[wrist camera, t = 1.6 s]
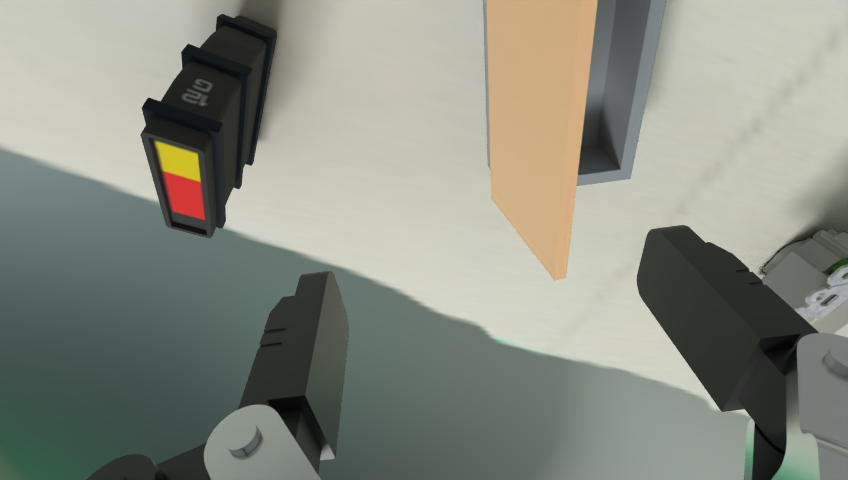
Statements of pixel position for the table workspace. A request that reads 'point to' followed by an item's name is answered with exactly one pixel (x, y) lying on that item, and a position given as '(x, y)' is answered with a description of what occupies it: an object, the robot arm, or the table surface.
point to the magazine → (209, 124)
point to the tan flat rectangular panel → (538, 117)
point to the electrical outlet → (814, 280)
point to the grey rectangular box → (612, 86)
